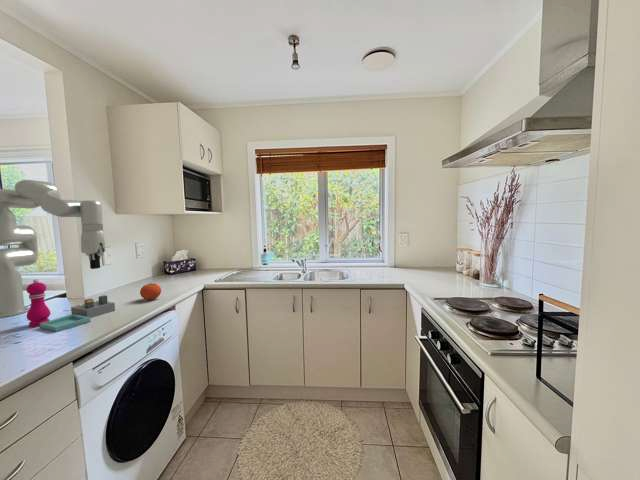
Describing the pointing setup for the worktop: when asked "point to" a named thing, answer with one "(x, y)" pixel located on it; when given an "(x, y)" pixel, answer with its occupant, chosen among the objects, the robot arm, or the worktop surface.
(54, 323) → the tray
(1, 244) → the robot arm
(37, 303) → the pepper mill
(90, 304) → the tagged breaker
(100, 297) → the block
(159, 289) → the tomato
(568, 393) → the worktop surface
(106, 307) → the breaker panel
